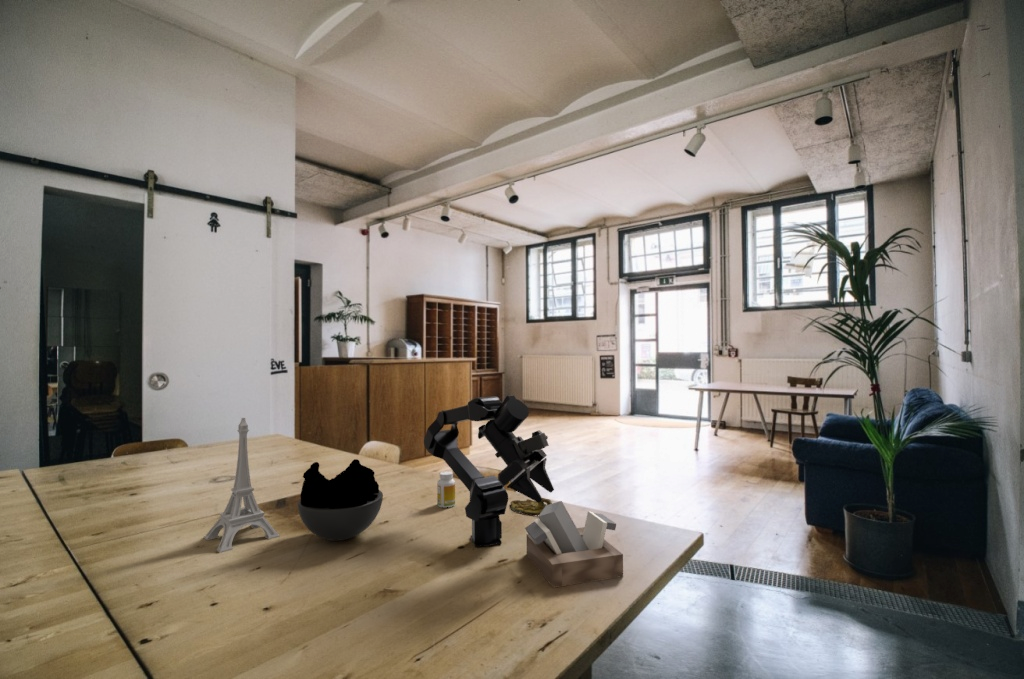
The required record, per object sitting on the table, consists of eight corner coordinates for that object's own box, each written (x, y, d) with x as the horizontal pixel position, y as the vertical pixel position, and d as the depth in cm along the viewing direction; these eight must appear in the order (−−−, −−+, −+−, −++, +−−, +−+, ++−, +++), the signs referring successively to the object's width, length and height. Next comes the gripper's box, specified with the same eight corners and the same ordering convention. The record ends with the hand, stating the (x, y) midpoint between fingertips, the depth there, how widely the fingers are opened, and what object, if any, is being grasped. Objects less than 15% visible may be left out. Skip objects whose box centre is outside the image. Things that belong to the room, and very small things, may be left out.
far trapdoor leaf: (601, 513, 108) (588, 511, 108) (617, 524, 101) (603, 522, 100) (592, 554, 108) (578, 552, 107) (608, 568, 100) (593, 566, 100)
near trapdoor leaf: (535, 539, 96) (549, 530, 97) (524, 527, 103) (537, 518, 104) (555, 577, 97) (569, 567, 98) (543, 562, 104) (556, 553, 105)
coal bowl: (399, 530, 122) (399, 457, 123) (341, 561, 104) (342, 475, 105) (341, 518, 131) (341, 451, 131) (278, 545, 113) (279, 466, 113)
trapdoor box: (552, 587, 92) (552, 564, 92) (526, 554, 107) (526, 534, 108) (623, 576, 97) (622, 554, 97) (588, 545, 112) (588, 526, 112)
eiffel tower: (203, 538, 118) (205, 418, 119) (260, 523, 128) (261, 413, 129) (219, 553, 109) (221, 423, 110) (279, 536, 119) (281, 417, 119)
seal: (502, 513, 138) (546, 523, 130) (500, 498, 138) (545, 506, 130) (518, 501, 146) (561, 509, 138) (517, 487, 146) (560, 494, 138)
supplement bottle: (458, 503, 144) (458, 471, 144) (450, 509, 139) (450, 475, 139) (442, 501, 146) (442, 470, 146) (434, 507, 141) (434, 474, 141)
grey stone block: (564, 565, 102) (537, 516, 102) (571, 552, 106) (545, 505, 106) (581, 561, 100) (553, 511, 100) (588, 548, 103) (561, 500, 104)
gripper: (514, 424, 101) (561, 483, 96) (540, 416, 118) (581, 466, 114) (478, 456, 103) (523, 516, 99) (509, 444, 121) (548, 494, 116)
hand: (546, 496), depth 107 cm, fingers open, 9 cm apart
